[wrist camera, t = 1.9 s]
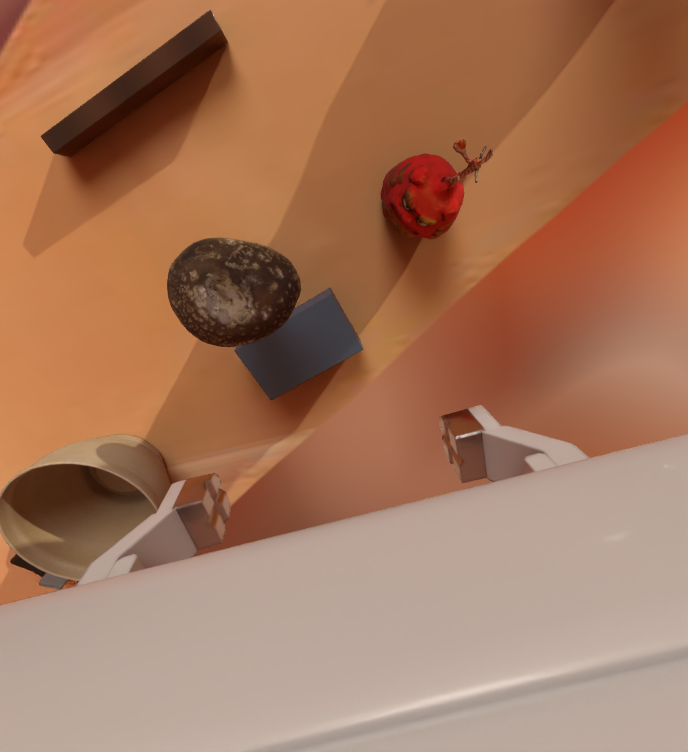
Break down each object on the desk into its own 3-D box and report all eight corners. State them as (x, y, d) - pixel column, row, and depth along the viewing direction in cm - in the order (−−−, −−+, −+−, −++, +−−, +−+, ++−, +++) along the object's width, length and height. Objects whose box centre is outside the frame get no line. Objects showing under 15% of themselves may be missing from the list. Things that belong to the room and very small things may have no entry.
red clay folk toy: (363, 202, 39) (389, 195, 25) (409, 140, 37) (465, 98, 23) (416, 251, 41) (467, 270, 27) (463, 195, 39) (542, 186, 26)
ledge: (217, 23, 33) (210, 9, 30) (228, 42, 33) (221, 30, 31) (58, 141, 35) (39, 136, 33) (70, 157, 36) (53, 153, 34)
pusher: (330, 287, 42) (331, 293, 39) (360, 339, 45) (363, 349, 42) (240, 340, 44) (234, 350, 41) (274, 387, 46) (271, 400, 43)
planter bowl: (178, 524, 54) (147, 595, 44) (54, 495, 50) (-10, 565, 41) (206, 432, 48) (178, 489, 38) (70, 392, 45) (0, 444, 35)
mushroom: (200, 289, 41) (142, 327, 28) (227, 211, 38) (177, 210, 25) (281, 324, 43) (266, 376, 30) (312, 253, 41) (310, 273, 27)
